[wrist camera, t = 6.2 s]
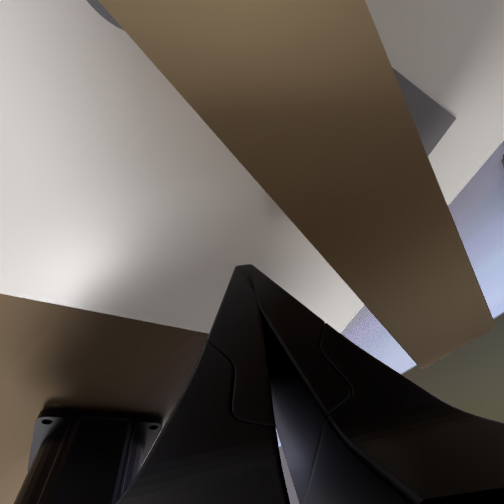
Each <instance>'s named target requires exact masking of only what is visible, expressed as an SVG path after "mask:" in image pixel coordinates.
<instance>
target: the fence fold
mask: <svg viewBox="0 0 504 504" xmlns="http://www.w3.org/2000/svg"><path fill="white" fill-rule="evenodd" d="M98 1H99V2H100V3H101V4H102V5H103V7H104V8H105V9H106V10H107V11H108V12H109V13H110V15H111V16H112V17H113V18H114V19H115V20H116V21H117V23H118V24H119V25H120V26H121V27H122V28H123V29H124V31H125V32H126V33H127V34H128V35H129V36H130V37H131V39H132V40H133V41H134V42H135V43H136V44H137V45H138V47H139V48H140V49H141V50H142V51H143V52H144V53H145V55H146V56H147V57H148V58H149V59H150V60H151V61H152V63H153V64H154V65H155V66H156V67H157V68H158V69H159V71H160V72H161V73H162V74H163V75H164V76H165V77H166V79H167V80H168V81H169V82H170V83H171V84H172V85H173V87H174V88H175V89H176V90H177V91H178V92H179V93H180V95H181V96H182V97H183V98H184V99H185V100H186V101H187V103H188V104H189V105H190V106H191V107H192V108H193V109H194V110H195V112H196V113H197V114H198V115H199V116H200V117H201V118H202V120H203V121H204V122H205V123H206V124H207V125H208V126H209V128H210V129H211V130H212V131H213V132H214V133H215V134H216V136H217V137H218V138H219V139H220V140H221V141H222V142H223V144H224V145H225V146H226V147H227V148H228V149H229V150H230V152H231V153H232V154H233V155H234V156H235V157H236V158H237V160H238V161H239V162H240V163H241V164H242V165H243V166H244V168H245V169H246V170H247V171H248V172H249V173H250V174H251V176H252V177H253V178H254V179H255V180H256V181H257V182H258V184H259V185H260V186H261V187H262V188H263V189H264V190H265V192H266V193H267V194H268V195H269V196H270V197H271V198H272V200H273V201H274V202H275V203H276V204H277V205H278V206H279V208H280V209H281V210H282V211H283V212H284V213H285V214H286V216H287V217H288V218H289V219H290V220H291V221H292V222H293V223H294V225H295V226H296V227H297V228H298V229H299V230H300V231H301V233H302V234H303V235H304V236H305V237H306V238H307V239H308V241H309V242H310V243H311V244H312V245H313V246H314V247H315V249H316V250H317V251H318V252H319V253H320V254H321V255H322V257H323V258H324V259H325V260H326V261H327V262H328V263H329V265H330V266H331V267H332V268H333V269H334V270H335V271H336V273H337V274H338V275H339V276H340V277H341V278H342V279H343V281H344V282H345V283H346V284H347V285H348V286H349V287H350V289H351V290H352V291H353V292H354V293H355V294H356V295H357V297H358V298H359V299H360V300H361V301H362V302H363V303H364V305H365V306H366V307H367V308H368V309H369V310H370V311H371V313H372V314H373V315H374V316H375V317H376V318H377V319H378V321H379V322H380V323H381V324H382V325H383V326H384V327H385V329H386V330H387V331H388V332H389V333H390V334H391V335H392V337H393V338H394V339H395V340H396V341H397V342H398V343H399V344H400V346H401V347H402V348H403V349H404V350H405V351H406V352H407V354H408V355H409V356H410V357H411V358H412V359H413V360H414V362H415V363H416V364H417V365H418V366H419V367H420V368H421V369H424V368H426V367H427V366H429V365H431V364H432V363H434V362H436V361H438V360H440V359H441V358H443V357H445V356H447V355H448V354H450V353H452V352H453V351H455V350H457V349H459V348H461V347H463V346H464V345H466V344H468V343H470V342H471V341H473V340H475V339H477V338H478V337H480V336H482V335H484V334H485V333H487V332H489V331H491V330H492V329H494V328H496V325H495V323H494V320H493V318H492V315H491V313H490V310H489V308H488V305H487V303H486V300H485V298H484V295H483V293H482V290H481V288H480V285H479V283H478V280H477V278H476V276H475V273H474V271H473V268H472V266H471V263H470V261H469V258H468V256H467V253H466V251H465V248H464V246H463V243H462V241H461V238H460V236H459V233H458V231H457V228H456V226H455V223H454V221H453V218H452V216H451V213H450V211H449V208H448V206H447V203H446V201H445V198H444V196H443V193H442V191H441V188H440V186H439V183H438V181H437V178H436V176H435V173H434V171H433V168H432V166H431V163H430V161H429V158H428V156H427V153H426V151H425V148H424V146H423V144H422V141H421V139H420V136H419V134H418V131H417V129H416V126H415V124H414V121H413V119H412V116H411V114H410V111H409V109H408V106H407V104H406V101H405V99H404V96H403V94H402V91H401V89H400V86H399V84H398V81H397V79H396V76H395V74H394V71H393V69H392V66H391V64H390V61H389V59H388V56H387V54H386V51H385V49H384V46H383V44H382V41H381V39H380V36H379V34H378V31H377V29H376V26H375V24H374V21H373V19H372V17H371V14H370V12H369V9H368V7H367V4H366V2H365V0H98Z"/></svg>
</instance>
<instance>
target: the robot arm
mask: <svg viewBox="0 0 504 504" xmlns="http://www.w3.org/2000/svg"><path fill="white" fill-rule="evenodd" d="M162 424H163V418H162V417H160V416H150V415H136V414H121V413H106V412H91V411H77V410H62V409H45V410H42V411H41V412H40V414H39V416H38V418H37V420H36V423H35V429H34V435H33V441H32V447H31V452H30V458H29V464H28V471H29V472H28V474H27V476H26V478H25V480H24V483H23V485H22V487H21V489H20V491H19V494H18V496H17V498H16V500H15V502H14V504H290V501H289V497H288V493H287V488H286V484H285V479H284V475H283V471H282V466H281V459H280V453H279V447H278V440H277V433H276V429H277V432H278V435H279V439H280V442H281V445H282V448H283V452H284V455H285V458H286V461H287V465H288V468H289V471H290V474H291V478H292V481H293V484H294V487H295V490H296V494H297V497H298V500H299V503H300V504H504V423H502V422H498V421H494V420H490V419H486V418H482V417H479V416H476V415H473V414H470V413H467V412H465V411H462V410H460V409H458V408H456V407H453V406H451V405H449V404H447V403H445V402H443V401H442V400H440V399H438V398H437V397H435V396H433V395H431V394H430V393H428V392H427V391H425V390H424V389H422V388H421V387H419V386H418V385H416V384H414V383H413V382H411V381H410V380H408V379H407V378H405V377H404V376H402V375H401V374H399V373H398V372H396V371H394V370H393V369H391V368H390V367H388V366H387V365H385V364H384V363H382V362H381V361H379V360H377V359H376V358H374V357H373V356H371V355H370V354H369V353H367V352H366V351H364V350H363V349H361V348H360V347H358V346H357V345H355V344H354V343H352V342H351V341H350V340H348V339H347V338H346V337H344V336H343V335H342V334H340V333H339V332H338V331H336V330H335V329H334V328H333V327H331V326H330V325H329V324H327V323H325V321H323V320H322V319H321V318H320V317H318V316H317V315H316V314H315V313H313V312H312V311H311V310H309V309H308V308H307V307H306V306H304V305H303V304H302V303H301V302H299V301H298V300H297V299H295V298H294V297H293V296H292V295H290V294H289V293H288V292H287V291H285V290H284V289H283V288H281V287H280V286H279V285H278V284H276V283H275V282H274V281H273V280H271V279H270V278H269V277H267V276H266V275H265V274H264V273H262V272H261V271H260V270H259V269H257V268H256V267H255V266H253V265H252V264H246V265H238V266H236V267H235V268H234V271H233V274H232V276H231V279H230V281H229V284H228V286H227V289H226V292H225V294H224V297H223V299H222V302H221V304H220V307H219V309H218V312H217V315H216V317H215V320H214V322H213V325H212V327H211V330H210V333H209V335H208V338H207V340H206V343H205V345H204V347H203V350H202V353H201V355H200V357H199V360H198V362H197V364H196V367H195V369H194V371H193V374H192V375H191V377H190V379H189V381H188V383H187V385H186V387H185V389H184V391H183V393H182V395H181V397H180V399H179V400H178V402H177V404H176V406H175V408H174V409H173V411H172V413H171V415H170V417H169V418H168V420H167V422H166V424H165V426H164V428H163V429H162ZM161 429H162V431H161ZM160 431H161V433H160V435H159V437H158V438H157V436H158V434H159V432H160ZM156 438H157V440H156ZM155 440H156V442H155V444H154V446H153V448H152V449H151V447H152V445H153V443H154V441H155ZM150 449H151V451H150V453H149V455H148V457H147V458H146V456H147V454H148V452H149V450H150ZM145 458H146V460H145ZM144 460H145V462H144V463H143V461H144ZM142 463H143V465H142ZM141 466H142V467H141Z"/></svg>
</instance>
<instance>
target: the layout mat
mask: <svg viewBox="0 0 504 504" xmlns="http://www.w3.org/2000/svg"><path fill="white" fill-rule="evenodd" d="M365 2H366V4H367V7H368V9H369V12H370V14H371V17H372V19H373V21H374V24H375V26H376V29H377V31H378V34H379V36H380V39H381V41H382V44H383V46H384V49H385V51H386V54H387V56H388V59H389V61H390V64H391V66H392V69H393V71H394V74H395V76H396V79H397V81H398V84H399V86H400V89H401V91H402V94H403V96H404V99H405V101H406V104H407V106H408V109H409V111H410V114H411V116H412V119H413V121H414V124H415V126H416V129H417V131H418V134H419V136H420V139H421V141H422V144H423V146H424V148H425V151H426V153H427V156H428V158H429V161H430V163H431V166H432V168H433V171H434V173H435V176H436V178H437V181H438V183H439V186H440V188H441V191H442V193H443V196H444V198H445V201H446V203H447V206H449V204H450V203H451V202H452V201H453V200H454V199H455V197H456V196H457V195H458V194H459V193H460V191H461V190H462V189H463V188H464V187H465V186H466V184H467V183H468V182H469V181H470V180H471V178H472V177H473V176H474V175H475V174H476V173H477V171H478V170H479V169H480V168H481V167H482V165H483V164H484V163H485V162H486V161H487V160H488V158H489V157H490V156H491V155H492V154H493V153H494V151H495V150H496V149H497V148H498V147H499V145H500V144H501V143H502V142H503V141H504V0H365ZM246 264H252V265H253V266H255V267H256V268H257V269H259V270H260V271H261V272H262V273H264V274H265V275H266V276H267V277H269V278H270V279H271V280H273V281H274V282H275V283H276V284H278V285H279V286H280V287H281V288H283V289H284V290H285V291H287V292H288V293H289V294H290V295H292V296H293V297H294V298H295V299H297V300H298V301H299V302H301V303H302V304H303V305H304V306H306V307H307V308H308V309H309V310H311V311H312V312H313V313H315V314H316V315H317V316H318V317H320V318H321V319H322V320H323V321H325V323H327V324H329V325H330V326H331V327H333V328H334V329H335V330H336V331H338V332H339V333H341V332H342V331H343V329H344V328H345V327H346V326H347V325H348V324H349V322H350V321H351V320H352V319H353V318H354V316H355V315H356V314H357V313H358V312H359V311H360V309H361V308H362V307H363V306H364V303H363V302H362V301H361V300H360V299H359V298H358V297H357V295H356V294H355V293H354V292H353V291H352V290H351V289H350V287H349V286H348V285H347V284H346V283H345V282H344V281H343V279H342V278H341V277H340V276H339V275H338V274H337V273H336V271H335V270H334V269H333V268H332V267H331V266H330V265H329V263H328V262H327V261H326V260H325V259H324V258H323V257H322V255H321V254H320V253H319V252H318V251H317V250H316V249H315V247H314V246H313V245H312V244H311V243H310V242H309V241H308V239H307V238H306V237H305V236H304V235H303V234H302V233H301V231H300V230H299V229H298V228H297V227H296V226H295V225H294V223H293V222H292V221H291V220H290V219H289V218H288V217H287V216H286V214H285V213H284V212H283V211H282V210H281V209H280V208H279V206H278V205H277V204H276V203H275V202H274V201H273V200H272V198H271V197H270V196H269V195H268V194H267V193H266V192H265V190H264V189H263V188H262V187H261V186H260V185H259V184H258V182H257V181H256V180H255V179H254V178H253V177H252V176H251V174H250V173H249V172H248V171H247V170H246V169H245V168H244V166H243V165H242V164H241V163H240V162H239V161H238V160H237V158H236V157H235V156H234V155H233V154H232V153H231V152H230V150H229V149H228V148H227V147H226V146H225V145H224V144H223V142H222V141H221V140H220V139H219V138H218V137H217V136H216V134H215V133H214V132H213V131H212V130H211V129H210V128H209V126H208V125H207V124H206V123H205V122H204V121H203V120H202V118H201V117H200V116H199V115H198V114H197V113H196V112H195V110H194V109H193V108H192V107H191V106H190V105H189V104H188V103H187V101H186V100H185V99H184V98H183V97H182V96H181V95H180V93H179V92H178V91H177V90H176V89H175V88H174V87H173V85H172V84H171V83H170V82H169V81H168V80H167V79H166V77H165V76H164V75H163V74H162V73H161V72H160V71H159V69H158V68H157V67H156V66H155V65H154V64H153V63H152V61H151V60H150V59H149V58H148V57H147V56H146V55H145V53H144V52H143V51H142V50H141V49H140V48H139V47H138V45H137V44H136V43H135V42H134V41H133V40H132V39H131V37H130V36H129V35H128V34H127V33H126V32H125V31H124V29H123V28H122V27H121V26H120V25H119V24H118V23H117V21H116V20H115V19H114V18H113V17H112V16H111V15H110V13H109V12H108V11H107V10H106V9H105V8H104V7H103V5H102V4H101V3H100V2H99V1H98V0H0V293H1V294H6V295H11V296H16V297H22V298H27V299H32V300H37V301H42V302H48V303H53V304H58V305H63V306H68V307H73V308H79V309H84V310H89V311H94V312H99V313H104V314H110V315H115V316H120V317H125V318H130V319H135V320H141V321H146V322H151V323H156V324H161V325H167V326H172V327H177V328H182V329H187V330H192V331H198V332H203V333H208V334H209V333H210V330H211V327H212V325H213V322H214V320H215V317H216V315H217V312H218V309H219V307H220V304H221V302H222V299H223V297H224V294H225V292H226V289H227V286H228V284H229V281H230V279H231V276H232V274H233V271H234V268H235V267H236V266H238V265H246Z"/></svg>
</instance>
